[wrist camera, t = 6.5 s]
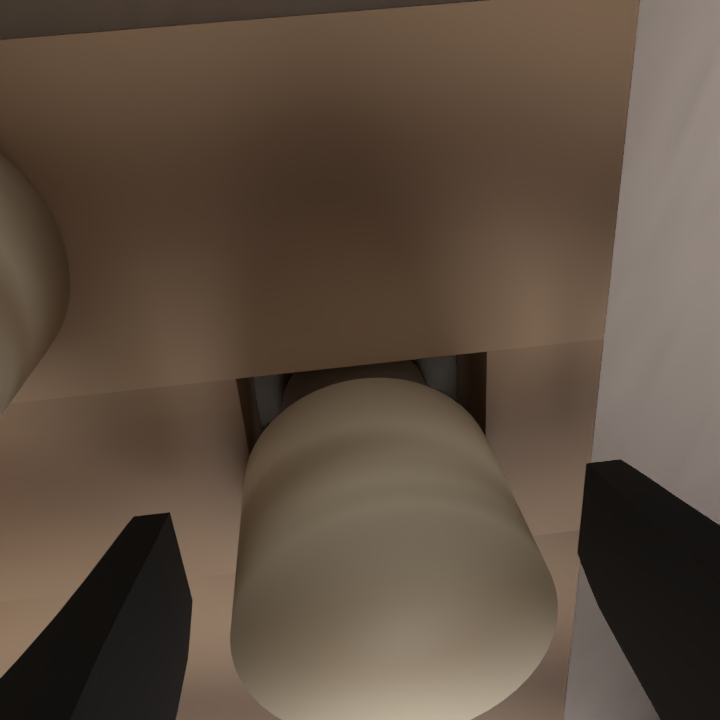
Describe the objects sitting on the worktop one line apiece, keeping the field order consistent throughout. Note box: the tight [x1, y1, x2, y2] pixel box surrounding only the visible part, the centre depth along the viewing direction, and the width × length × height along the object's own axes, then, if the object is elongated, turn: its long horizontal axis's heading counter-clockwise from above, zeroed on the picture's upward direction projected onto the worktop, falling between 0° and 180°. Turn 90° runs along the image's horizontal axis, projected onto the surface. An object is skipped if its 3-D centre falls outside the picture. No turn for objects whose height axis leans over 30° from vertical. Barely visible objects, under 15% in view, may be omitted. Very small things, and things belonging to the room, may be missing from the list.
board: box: [0, 0, 640, 720], centre depth 13 cm, size 20×14×6 cm
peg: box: [230, 360, 558, 720], centre depth 13 cm, size 5×5×6 cm
